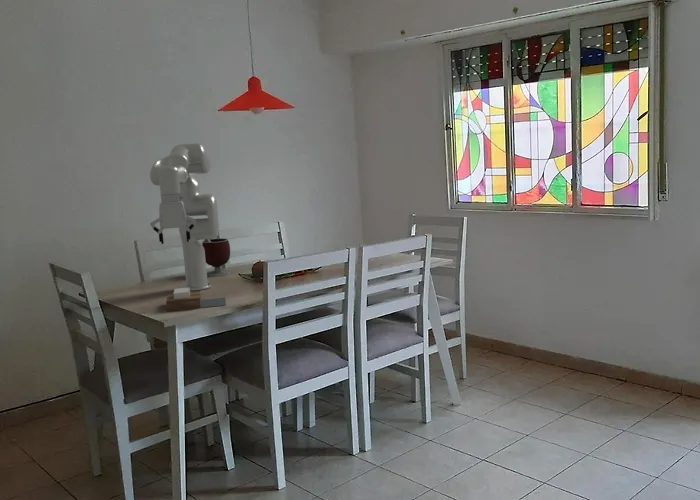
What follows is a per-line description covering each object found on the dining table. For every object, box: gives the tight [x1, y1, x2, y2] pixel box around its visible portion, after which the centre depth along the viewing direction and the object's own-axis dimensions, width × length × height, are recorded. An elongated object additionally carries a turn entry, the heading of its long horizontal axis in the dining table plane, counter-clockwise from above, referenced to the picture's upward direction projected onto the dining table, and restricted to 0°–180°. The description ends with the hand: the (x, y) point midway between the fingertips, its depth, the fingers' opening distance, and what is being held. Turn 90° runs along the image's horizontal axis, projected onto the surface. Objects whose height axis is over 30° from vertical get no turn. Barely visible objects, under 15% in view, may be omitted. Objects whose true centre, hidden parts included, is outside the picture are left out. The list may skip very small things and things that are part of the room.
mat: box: [200, 297, 227, 309], centre depth 280 cm, size 14×10×1 cm
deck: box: [165, 290, 202, 312], centre depth 277 cm, size 14×13×4 cm
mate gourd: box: [201, 237, 231, 277], centre depth 343 cm, size 16×14×20 cm
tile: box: [173, 287, 191, 299], centre depth 277 cm, size 9×6×2 cm, turn 11°
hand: (175, 242), depth 266 cm, fingers open, 9 cm apart
